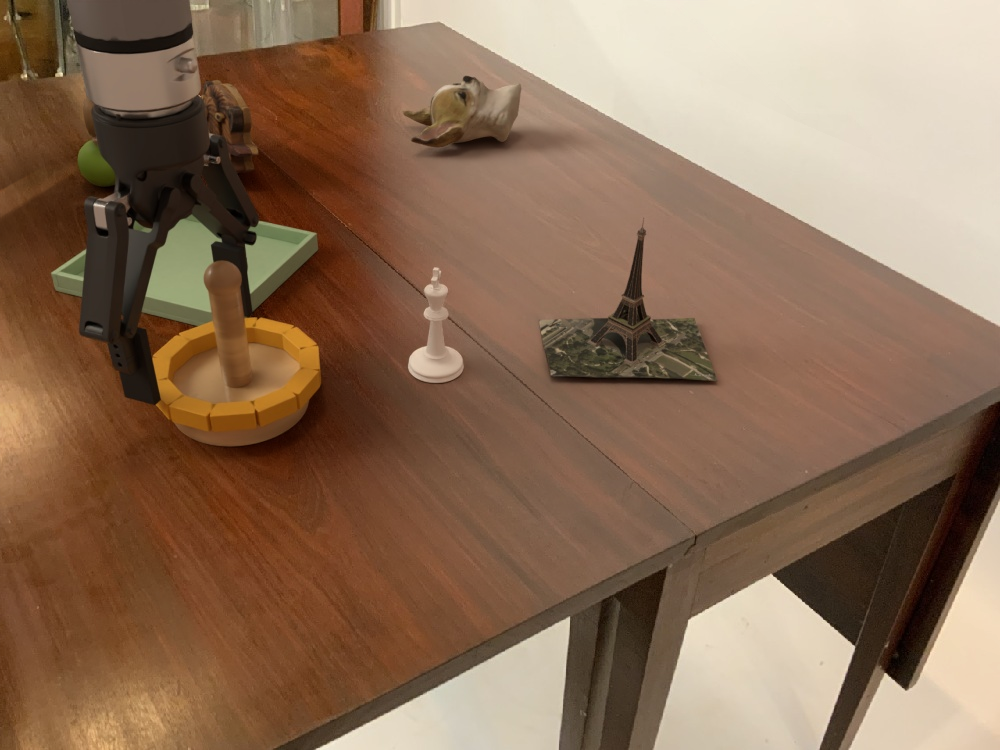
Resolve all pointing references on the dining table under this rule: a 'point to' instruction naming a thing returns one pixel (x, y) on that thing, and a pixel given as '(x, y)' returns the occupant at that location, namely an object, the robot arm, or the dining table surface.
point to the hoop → (241, 412)
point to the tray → (204, 268)
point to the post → (234, 364)
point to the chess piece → (435, 341)
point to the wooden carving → (230, 122)
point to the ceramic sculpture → (467, 113)
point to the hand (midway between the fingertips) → (193, 352)
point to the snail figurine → (93, 155)
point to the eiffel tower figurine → (627, 340)
